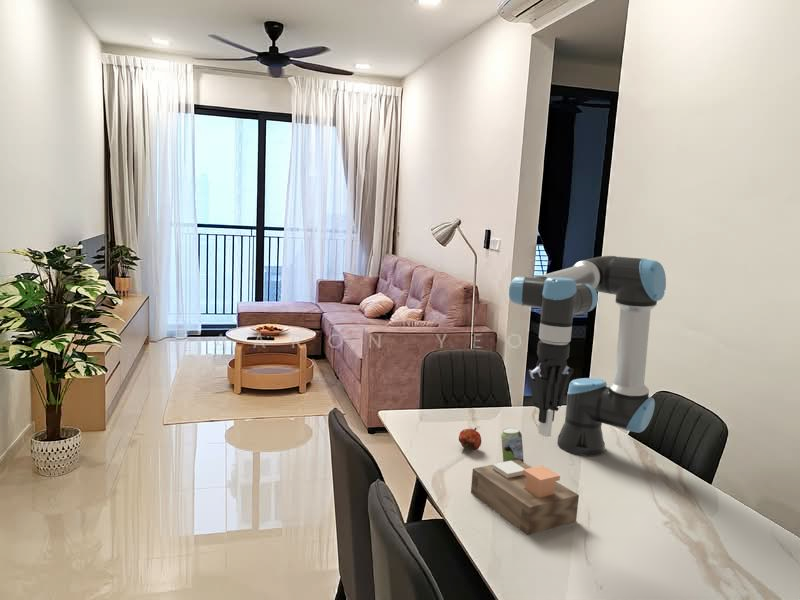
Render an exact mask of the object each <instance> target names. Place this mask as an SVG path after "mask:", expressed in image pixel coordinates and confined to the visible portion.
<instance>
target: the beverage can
mask: <svg viewBox="0 0 800 600" xmlns="http://www.w3.org/2000/svg"><path fill="white" fill-rule="evenodd" d="M501 447H502V448H501V449H502V462H506V461H513V460H518V459H519V460H521V461H522V462H524V463H525V461H524V448H523V447H524V446H523V436H522V432H521V431H520V429H519V428H516V427H508V428H504V429H502V433H501Z"/></svg>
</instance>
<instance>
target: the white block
mask: <svg viewBox="0 0 800 600" xmlns="http://www.w3.org/2000/svg"><path fill="white" fill-rule="evenodd" d="M492 465H493V466H492V469H494V470H496V471H497V472H499V473H500V474H502V475H503V476H505V477H506V478H511V477H515V476H520V475H524V474H523V469H524V468H523V467H521V466H519V465H518V464H516V463H514V462H513V461H506V462H503V461H502V462H497V463H492Z"/></svg>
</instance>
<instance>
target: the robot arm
mask: <svg viewBox="0 0 800 600" xmlns="http://www.w3.org/2000/svg"><path fill="white" fill-rule="evenodd" d="M666 278H667V276H666V273H665V268H664V267H663V265H662V264H661V262H659V261H657V260H653V259H647V258H639V257H637V258H636V257H627V256H616V255H604V256H596V257H593V258H588V259H583V260H580V261H577V262H576V263H574V265H572V266H571V267H568V268H564V269H563V268H562V269H560V270H556V271H552V272H549V273H545V274H541V275H538V276H534V277H527V276H515V277H514V278H512V280H511V282H510V284H509V287H508V297H509V299H510V301H511V302H512V303H513V304H516V305H521V306H522V307H525V306H526V307H532V308H538V309H541V310H540V311H541V313H540V320H539V321H540V323H539V331H538V338H539V340H538V342H537V350H536V354H537V357H538V360H537V363H536V367H535V368H533V369H529V370H528V372H527V374H528V377H529V378H530V386H531V387H530V388H531V396H532V406H533V407H535V408H538V409H539V411H538V422H539V427H538V428H539V429H538V434H540V435H541V436H544V437H545V438H548V437H551V436H552V427H553V422H554V420H555V412H558V411H559V409H560V407H562V406H563V403H564V400H565V396H566V393H567V396H566V405H565V406H566V408H565V418H564V423H563V424H562V427H561V430H560V432H559V434H558V435H557V446H558V447H559V448H560V449H562V450H563V451H565V452H567V453H570V454H571V453H572V454H575V455H579V456H587V457H588V456H589V457H594V456H595V457H596V456H600V455H602V454H604V453H605V448H606V443H605V441H604V436H603V430H602V427H603V426H602V425H603V424H604V425H608V426H611V427H613V428H614V427H615V428H618V429H622V430H625V431H627V432H633V433H638V434H639V433H642V432H644V431H645V430H646V428H647V427H648V426H649V424H650V422H651V420H652V417H653V415H654V411H655V407H656V406H655V405H656V402H655V399H654V398H653V397H651V396H649V394H650V389H649V388H648V387H647V385H646V384H645V379H646V378H645V377H646V366H647V356H648V355H647V354H648V344H649V335H650V334H649V333H650V320H651V310H652V309H653V308H655V307H656V306H657V303H658V301H661V300H662V299H664V298H663V297H664V296H665V291H666V287H667V286H666V285H667V279H666ZM597 292H599V293H604V294H609V295H615V304H616V305H617V306H618V307H619V322H618V333H617V348H616V358H615V359H616V361H615V372H614V373H615V374H614V381H613V382H611V383H609V386H607V385H608V384H607V381H606V380H604V379H601V378H594V377H593V378H592V377H583V378H582V377H581V378H576V379H575V378H574V379H572V380H571V381H570V379H571V377H572V375H573V373H574V368H571V367H569V366H568V363H567V360H568V359H569V357H570V348H571V345H570V342H571V341H572V332H573V331H572V329H573V322H574V321H573V319H574V315H583V314H586V313H589V312H591V311H593V310H594V309H595V308H596V307H597V304H598V301H599V297H598V295H599V294H598V293H597ZM567 389H568V390H567Z"/></svg>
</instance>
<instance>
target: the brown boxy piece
mask: <svg viewBox="0 0 800 600" xmlns="http://www.w3.org/2000/svg"><path fill="white" fill-rule="evenodd" d="M513 462H514V463H516V464H518V465H519V466H521V467H523V468H524V469H528V468H533V467H532V466H531V465H529V464H527V463H525V461H524V462H522V461H521V460H519V459H518V460H513ZM492 466H493V464H489V465H484V466H480V467H474V468H472V472H471V473H472V475H471V487H470V494H472V495H473V496H474V497H476V498H478V500H480V501H481V502H482V503H484V504H485V505H487V507H489V508H490V509H492V510H493V511H495V512H496V513H498V514H499V515H500V516H501V517H503V518H504V519H505V520H507V521H509V523H511V524H513V526H515V527H516V528H517V529H519V530H521V531H522V532H523V533H524V534H526V535H527V536H528V535H532V534H535V533H539V532H542V531H543V532H544V531H545V530H549V529H553V528H557V527H560V526H563V525H567V524H570V523H574V522H577V517H578V516H577V515H578V509H579V508H578V507H579V498H580V494H578V493H577V492H575V491H573V490H571V489H569V488H568V487H566V486H565V485H562V484H561V483H560V482H559V481H555V490H554V495H550V496H546V497H542V498H538V497H536V496H534V495H533V494H531V493H530V492H528V491H527V490H525V488H526V477H527V476H525V475H520V476H515V477H511V478H506V477H505V476H503V475H502V474H500V473H499V472H497V471H496V470H494V469H492ZM556 526H557V527H556Z"/></svg>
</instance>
